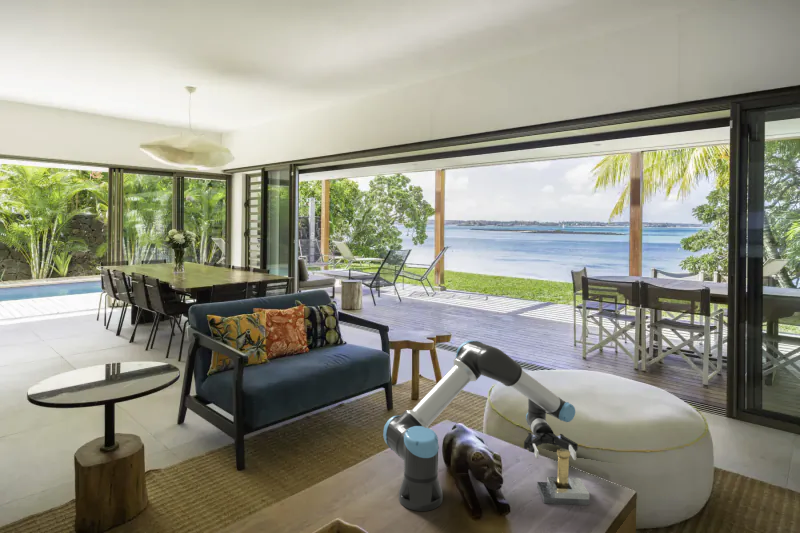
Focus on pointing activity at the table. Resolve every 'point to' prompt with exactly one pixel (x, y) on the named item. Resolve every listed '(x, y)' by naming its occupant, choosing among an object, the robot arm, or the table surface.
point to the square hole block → (563, 492)
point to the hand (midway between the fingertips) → (556, 455)
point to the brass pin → (563, 468)
